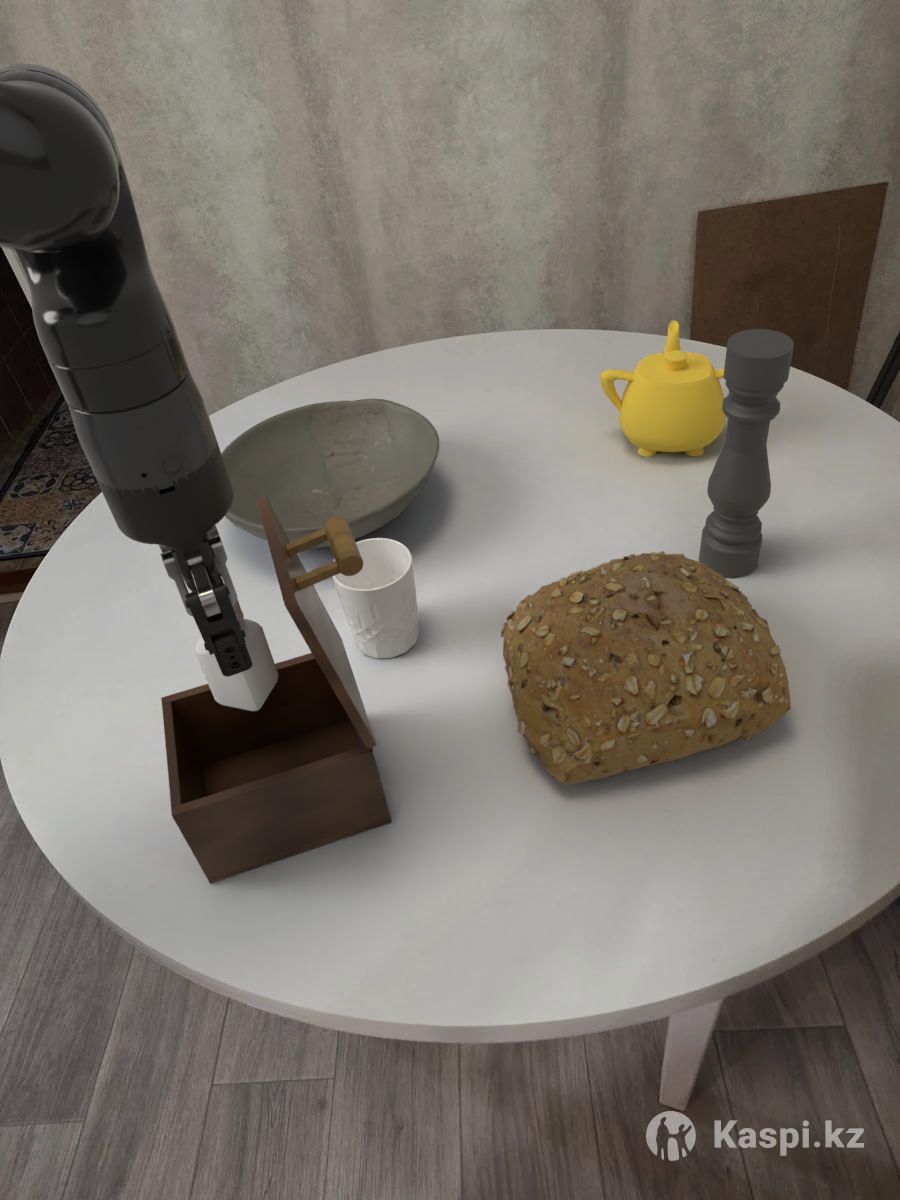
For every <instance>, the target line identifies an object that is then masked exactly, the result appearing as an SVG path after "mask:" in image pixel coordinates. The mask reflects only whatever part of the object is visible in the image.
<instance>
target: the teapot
mask: <svg viewBox="0 0 900 1200" xmlns="http://www.w3.org/2000/svg"><path fill="white" fill-rule="evenodd" d="M723 375H724V368H718V369H715V368H714V366H713V364H712V362H711V360H710V359H709V358H708V357H707V356H706V355H704V354H701V353H697V352H691V351H683V350H681V342H680V324H679V322H678V321H677V320H674V319H673V320H671V321H670V322H669V324H668V328H667V335H666V341H665V346H664V349H663V352H656V353H652V354H648V355H646V356H644V357H642V358H641V359H640V360H639V362H638V363H637V365H636V366H635V368H634V369H633V371H630V370H626V369H625V370H624V369H614V368H613V369H612V368H611V369H609V368H608V369H605V370H603V371H602V372H601V374H600V375H599V383H600V386H601V389H602V391H603V392H604V394H605V395H606V397H607V398H608V400H609V401H610V402H611V404H612V405H613V406H614V407H615V408H616V410H618V412H619V418H618V419H619V425H620V427H621V430H622V432H623V435H624V436H625V437H626V438H627V440H629V442H630V443H631V444H632V445H634V446H636V447H637V448H638V449H637V453H638V455H640V456H642V457H646V458H649V457H653V456H655V455H656V454H657V452H666V453H677V452H678V453H679V452H684V453H685V455H687V456H689V457H700V456H702V455H703V454H704V452H705V450H704V448H705V447H707V446H709V445H711V444H712V443H713V442H714V441H715V440H717V438H718V437H719V436H720V435H721V433H722V432H723V430H724V426H725V420H726V415H725V414H724V412H723V410H722V405H723V400H724V399H725V396H724V392H723V387H722V384H721V382H720V379H724V377H723ZM617 380H618V381H619V380H621V381H622V380H623V381H627V383H626V386H625V388H624V391H623V394H622V398H621V397H620V396H619V394H618V393H617V389H616V386H615V384H614V382H615V381H617ZM728 395H729V393H728V394H727V396H728Z"/></svg>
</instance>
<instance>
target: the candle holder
mask: <svg viewBox="0 0 900 1200" xmlns="http://www.w3.org/2000/svg"><path fill="white" fill-rule="evenodd" d="M794 343H795V341H794V340H793V339H792V338H791V337H790V336H789V335H788V334H785V333H783V332H781V331H778V330H773V329H768V328H767V329H766V328H751V329H744V330H741V331H739V332H736V333H733V334H732V335H731V336H730V337H729V338H728V339H727V343H726V351H725V360H724V375H723V377H724V378H723V379H724V380H725V386H726V388H727V390H728V394H729V395H728V394H727V395H726V397H724V400H723V405H722V410H723V412H724V414H725V417H727V425H726V431H725V439H724V442H723V444H722V447H721V449H720V451H719V455H718V456H717V459H716V462H715V464H714V466H713V469H712V471H711V474H710V475H709V478H708V481H707V482H708V483H707V490H706V493H707V496H708V499H709V500H710V502H711V504H712V506H713V509H712V511H711V512H710V513H709V515H708V516H706V518H705V524H704V527H703V528H702V531H701V538H700V546H699V555H698V561H699V562H701V563H703V564H705V565H707V566H708V567H709V568H711V569H713V570H714V571H716V572H718V573H719V574H721V575H723V576H724V578H725V579H736V578H738V579H739V578H743V577H746V576H748V575H750V574H753V573H754V571H755V570H757V568H758V566H759V561H760V555H761V549H762V544H763V533H762V530H763V529H762V528H763V523H762V521H761V519H760V517H759V516H758V514H759V511H760V510H761V509H762V508H763V507H764V505H766V504H767V502H768V501H769V499H770V497H771V492H772V491H771V489H772V482H771V473H770V465H769V463H770V462H769V455H768V454H769V453H768V444H767V443H768V437H769V431H770V424H771V421H772V420H775V418H776V417H777V416H778V415H779V414H780V411H781V401H780V400H779V399H778V398H777V396H778V394H779V393H780V392H781V391H782V390H783V388H784V386H785V384H786V383H787V382H788V381H789V376H790V370H791V364H792V359H793V354H794V345H795V344H794Z"/></svg>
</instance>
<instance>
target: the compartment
mask: <svg viewBox="0 0 900 1200" xmlns="http://www.w3.org/2000/svg"><path fill="white" fill-rule="evenodd" d="M275 666H276V669H277V672H278V680H277V683H276V684H275V686H274V688H273V689H272V691H271V692H270V694H269V696H268V697H267V699H266V700H265V702H264V704H263V705H262V707H261V708H260V709H259V710H258V711H249V710H244V709H239V708H235V707H230V706H225V705H221V704H219V703H218V702H217V701H215V699H214V696H213V694H212V692H211V689H210V687H209V685H208V683H206V684H202V685H198V686H196V687H192V688H189V689H185V690H182V691H179V692H175V693H172V694H169V695H166V696H165V695H164V696H162V697H161V698H160V699H161V700H160V701H161V709H162V719H163V733H164V742H165V754H166V763H167V765H166V767H167V776H168V778H167V779H168V787H169V788H168V789H169V799H170V807H171V808H170V811H171V817H172V820H174V822H175V824H176V826H177V828H178V829H179V831H180V834H181V835H182V837H183V839H184V840H185V842H186V843H187V846H188V847H189V849H190V851H191V852H192V854H193V856H194V858H195V860H196V861H197V863H198V865H199V867H200V869H201V870H202V872H203V874H204V875H205V877H206V880H207V881H208V883H209V884H212V883H215V882H218V881H219V882H220V881H221V880H224V879H227V878H228V879H229V878H231V877H233V876H237V875H240V874H242V873H243V874H244V873H246V872H248V871H251V870H254V869H257V868H260V867H263V866H266V865H269V864H272V863H275V862H278V861H281V860H284V859H287V858H290V857H293V856H296V855H299V854H302V853H305V852H308V851H311V850H314V849H317V848H320V847H322V846H325V845H328V844H332V843H335V842H337V841H341V840H345V839H347V838H350V837H353V836H356V835H359V834H361V833H365V832H367V831H371V830H373V829H376V828H380V827H382V826H385V825H388V824H391V823H392V822H393V821H392V817H391V813H390V809H389V807H388V806H389V805H388V802H387V798H386V795H385V791H384V787H383V783H382V779H381V776H380V775H381V774H380V772H379V768H378V764H377V761H376V757H375V753H374V750H373V747H372V748H369V749H367V748H366V746H365V744H364V743H363V741H362V739H361V737H360V736H359V734H358V732H357V730H356V729H355V727H354V725H353V723H352V722H351V720H350V718H349V717H348V715H347V713H346V711H345V710H344V708H343V706H342V704H341V703H340V701H339V699H338V697H337V696H336V694H335V692H334V690H333V689H332V687H331V685H330V683H329V682H328V680H327V678H326V676H325V675H324V673H323V671H322V670H321V668H320V666H319V664H318V663H317V661H316V659H315V657H314V656H313V654H312V652H310V653H306V654H302V655H298V656H297V657H293V658H290V659H287V660H283V661H281V662H280V661H279V662H275Z"/></svg>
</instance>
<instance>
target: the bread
mask: <svg viewBox="0 0 900 1200" xmlns="http://www.w3.org/2000/svg"><path fill="white" fill-rule="evenodd" d="M502 637H503V639H502V642H503V643H502V656H503V660H504V663H505V664H504V665H505V666H504V669H505V671H506V674H507V687H508V689H509V691H510V693H511V698H512V705H513V708H514V712H515V715H516V718H517V722H518V723H517V724H518V725H517V733H518V734H519V733H520V734H522V736H523V737H524V739H525V741H526V742H527V744H528V746H529V752H530V753H531V754H532V755H536V756H537V758H538V760H539V761H540V762H541V763H542V764H543V766H544V768H545V769H546V770H547V771H548V773H549V774H550V775H551V776H553V777H554V778H555V780H557V782H558V783H559V784H579V783H583V782H586V781H589V780H592V781H593V780H601V779H604V778H608V777H610V776H615V775H618V774H622V773H625V772H629V771H634V770H639V769H642V768H646V767H651V766H653V765H659V764H662V763H667V762H672V761H676V760H680V759H683V758H686V757H688V756H691V755H694V754H696V753H700V752H704V751H707V750H710V749H715V748H718V747H721V746H724V745H727V744H728V743H731V742H733V741H740V740H741V739H744V740H745V741H747V740H749V739H750V738H751V737H752V736H753V735H756V734H758V733H761V732H763V731H765V730H767V729H769V728H770V727H771V726H773V725H775V724H776V723H777V722H779V721H780V720H781V719H782V718H783V717H785V715H786V714H787V713H788V712H789V711H790V710H791V709H792V707H791V706H792V705H791V697H790V683H789V678H788V674H787V670H786V666H785V664H784V661H783V658H782V655H781V648H780V645H779V644H777V643H776V642H775V639H774V637H773V636H772V634H771V629H770V626H769V623H768V620H767V619H765V618H763V617H761V616H760V615H759V613H758V612H757V609H756V608H754V607H753V605H752V604H751V603H750V602H749V601H748V596H746V595H745V594H744V592H743V591H742V590H740V588H739V586H737V585H735V584H734V583H732V582H731V581H730V580H728V579H727V578H726V577H724V576H723V575H721V574H719V573H718V572H716V571H714V570H713V569H711V568H709V567H708V566H707V565H705V564H703V563H701V562H700V561H699V560H694V559H692V558H688V557H685V554H684V552H683V553H665V552H664V550H661V551H659V552H656V551H651V552H650V553H648V552H647V553H646V552H643V553H641V554H634V553H633V554H631V553H630V554H629V555H626V556H623V557H622V558H615V559H613V558H612V559H610V561H609V562H607V561H605V562H602V563H601V564H599V565H597V566H596V567H592V568H589V569H588V570H579V571H576V572H571V573H570V574H569V575H568V576H566V577H561V578H560V579H559V580H557V581H553V582H551V583H549V584H546V585H541V586H540V587H539V589H538V590H537V591H535V592H534V593H533V594H528V595H526V597H524V598H523V599H522V600H521V601H520V602H519V603H518V605H516V610H515V611H512V610H511V611H510V613H509V614H508V616H507V617H506V622H503V624H502V627H501V630H500V638H502Z"/></svg>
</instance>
